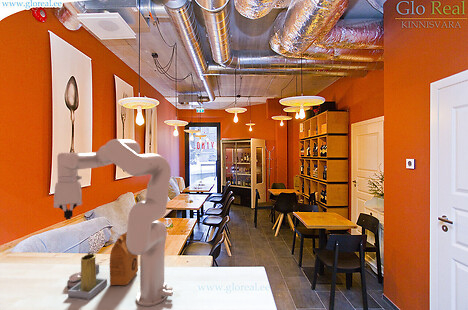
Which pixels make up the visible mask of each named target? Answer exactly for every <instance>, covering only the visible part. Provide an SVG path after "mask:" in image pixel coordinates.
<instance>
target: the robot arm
mask: <svg viewBox="0 0 468 310" xmlns="http://www.w3.org/2000/svg"><path fill="white" fill-rule="evenodd" d="M56 161H57V164H56V165H57V167H56V168H57V182H56V183H55V186H54V192H53V193H54V194H53V208H56V209H60V210H62V211H63V216H64V219H65V220H66V221H68V220H71V219H72V217H73V215H74V214H73V212H74V211H73V210H74V209H75V208H77V207H78V206H82V205H83V200H82V199H83V198H82V197H83V196H82V195H83V194H82V184H81V181H79V180H82V179H83V178H82V175H81V176H80V175H79V170H86V169H94V168H95V169H96V168H99V167H106V166H109V165H112V164H114V165H115V166H116V167H118V168H119V169H121V170H122V171H124V172H125V173H127V174H128V175H130V176H133V177H142V176H148V175H150V179H149V181H148V183H147V187H146V195H145V198H144V199H143V200H140V201H137V202H136V203H134V205H133V206H131V208H130V211H129V214H128V218H127V228H126V232H127V236H126V245H127V248H128V250H129V252H130V253H132V254H133V255H138V256H140V259H139V261H140V262H139V263H140V265H139V267H140V268H139V275H140V279H139V280H140V281H139V282H140V284H139V287H140V288H139V289H140V290H139V291H138V292H137V294H136V297H135V300H136V303H137V304H138V305H140V306H144V307H151V306H155V305H159V304H160V303H162V302H163V301H165V299H167V297H173V293H174V291H173V289H174V288H173V287H172V286H171V287H168V284H167V282H165V252H166V251H165V249H166V248H165V247H166V240H167V235H168V233H167V227H166V225H165V223H164V222H163V221H160V220H161V218H163V217H164V216H165V214H166V213H167V208H168V207H167V206H168V197H169V188H170V182H171V175H172V172H171V171H172V170H171V166H170V164H169V162H168V160H167V159H166V157H163V156H162V155H160V154H157V153H142V154H141V146H140V144H139V143H138V142H137V141H136V140H132V139H123V138H121V139H120V138H114V139H110V140H108V141H107V142H106V143H105V144H104V145H101V146H100V147H99V148H98V151H92V152H89V151H88V152H85V151H84V152H60V153H59V152H58V154H57V159H56ZM68 205H70V206H69V209H68Z"/></svg>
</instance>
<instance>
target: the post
mask: <svg viewBox="0 0 468 310" xmlns="http://www.w3.org/2000/svg"><path fill="white" fill-rule="evenodd" d="M95 266H96V275H98V274H99V273H100V264H98V263H97V264H96V263H95Z"/></svg>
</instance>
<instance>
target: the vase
mask: <svg viewBox="0 0 468 310" xmlns="http://www.w3.org/2000/svg"><path fill="white" fill-rule="evenodd" d="M80 261H81V262H80V272H81V287H80V291H86V292H90V291H91V290H92V289H93V288H95V287H96V286H97V284H96V278H97V274H96V266H95V264H96V255H95V254H94V253H93V254H89V255H88V254H85V255H83V256H82V257H81V258H80Z"/></svg>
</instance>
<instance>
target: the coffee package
mask: <svg viewBox="0 0 468 310" xmlns="http://www.w3.org/2000/svg"><path fill="white" fill-rule="evenodd" d="M126 236H127V231H126V232H124V233H121V235H120V236H119V237H118V238H117V239H116V241H115V243H114V245H113V246H112V247H111V250H110V256H109V285H110V286H115V285H116V286H117V285H118V286H126V285H129V283H130V281H132V279H133V278H134V277H135V276H136V274H137V273H138V271H139V263H138V262H139V261H138V260H139V259H138V257H139V255H133V254H132V253H130V252H129V250H128V248H127V245H126Z"/></svg>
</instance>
